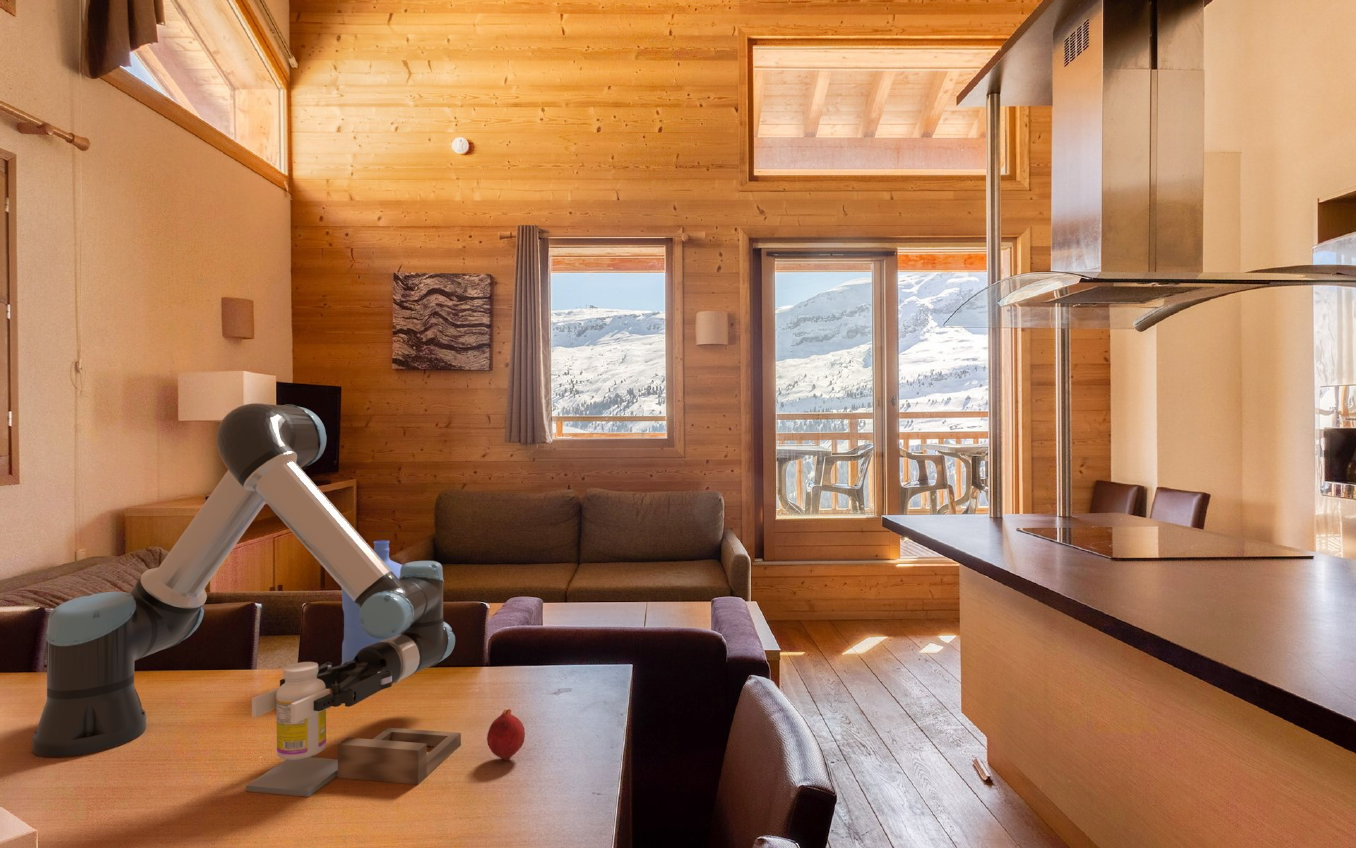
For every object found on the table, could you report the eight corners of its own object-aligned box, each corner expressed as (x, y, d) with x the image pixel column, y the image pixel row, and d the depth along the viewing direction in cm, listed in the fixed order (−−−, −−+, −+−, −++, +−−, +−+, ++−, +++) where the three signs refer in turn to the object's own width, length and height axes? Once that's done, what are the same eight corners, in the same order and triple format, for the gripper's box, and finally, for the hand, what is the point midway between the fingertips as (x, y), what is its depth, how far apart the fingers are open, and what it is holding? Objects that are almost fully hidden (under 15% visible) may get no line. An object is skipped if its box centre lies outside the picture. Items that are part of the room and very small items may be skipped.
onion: (515, 769, 115) (515, 717, 115) (480, 766, 116) (480, 714, 116) (530, 753, 121) (530, 704, 121) (497, 750, 122) (497, 701, 122)
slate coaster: (245, 791, 108) (245, 785, 108) (292, 761, 118) (292, 755, 118) (308, 797, 106) (308, 791, 106) (350, 765, 116) (350, 760, 116)
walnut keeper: (337, 777, 112) (337, 744, 112) (388, 739, 126) (388, 709, 126) (418, 784, 110) (418, 750, 110) (460, 745, 124) (461, 714, 124)
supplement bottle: (313, 739, 117) (313, 656, 117) (334, 750, 113) (334, 665, 113) (268, 753, 112) (268, 667, 112) (288, 766, 107) (288, 676, 107)
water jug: (434, 667, 164) (435, 539, 164) (371, 688, 151) (372, 549, 151) (388, 656, 172) (389, 534, 172) (325, 675, 159) (326, 543, 159)
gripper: (432, 691, 126) (326, 746, 104) (340, 678, 132) (222, 728, 111) (432, 646, 126) (326, 692, 104) (340, 636, 132) (222, 677, 111)
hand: (273, 710), depth 107 cm, fingers closed on supplement bottle, 7 cm apart
